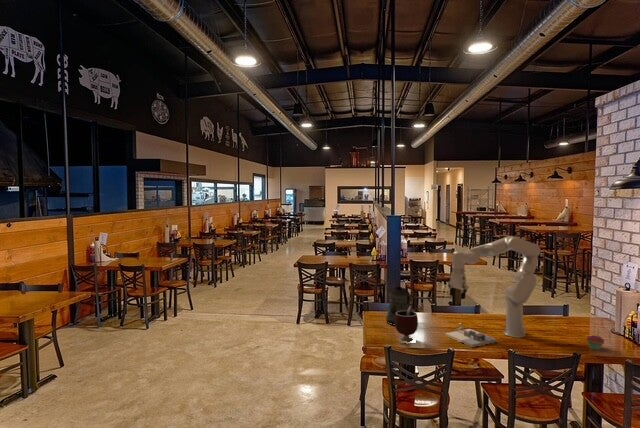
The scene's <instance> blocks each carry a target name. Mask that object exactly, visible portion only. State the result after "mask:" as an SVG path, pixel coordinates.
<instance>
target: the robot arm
mask: <svg viewBox="0 0 640 428" xmlns="http://www.w3.org/2000/svg"><path fill="white" fill-rule="evenodd" d="M508 251H514V252H516V253H518V254H521V255H522V261H521V263H520V266H519V268H518V270H517V271H516V273H515V275H514V281H515V282H516V284H510V285H508V286H507V287H506V288H505V291H504V295H505V303H506V305H505V308H506V309H505V313H506V314H505V315H506V317H505V318H506V321H505V323H506V324H505V325H506V326H505V330H503V334H504V335H505V336H507V337H510V338H520V339H521V338H525V337H526V333H525V331H528V327H525V326H524V308H523V307H524V306H523V305H524V304H525V303H526V302H528V300H529V298H530V297H531V295H532V293H533V291H534V289H535V288H536V285H537V278H536V276H535V274H534V273H535V271H536V269H537V267H538V263H539V262H538V261H539V259H538V257H539V256H540V254H541V252H542V251H541V248H540V246H539V245H538V244H537V243H533V242H530V241H528V240H525V239H522V238H520V237H517V236H514V235H508V236H505V237H502V238H500V239H497V240H495V241H492V242H488V243H484V244H482V245H478V246H475V247H471V248H470V249H467V250H466V251H461V250H460V251H459V250H458V251H456V250H455V251H453V252H452V259H451V260H452V263H451V264H452V265H451V269H452V270H451V272H450V273H451V274H450V280H448V281H447V285H448V288H449V289H448V290H449V296H455V289H457V290H460V292H461V293H460V299H461V300H465V299H466V294H467V292H468V290H469V288H470V286H468V285H467V276H466V270H465V265H466V264H469V265H475V264H476V263H478V262H479V259H481V258H483V257H494V256H498V255H500V254H503V253H506V252H508Z"/></svg>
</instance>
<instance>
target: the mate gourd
mask: <svg viewBox="0 0 640 428" xmlns="http://www.w3.org/2000/svg"><path fill="white" fill-rule="evenodd" d="M411 308H412V305H409V307H408V310H407V311H398V312H396V315H395V326H394V327H395V330H396V331H397V332H398V333H399V334H401V335H402V336H401V337H402V338H400V339H401V340H402V341H407V342H410V341H412V340H413V339H412V338H413V337H412V338H409V337H410V335H414V334H415V333H416V331H417V330H418V326H419V323H418V322H419V320H418V313H417V312H416V311H412V309H411Z"/></svg>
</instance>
